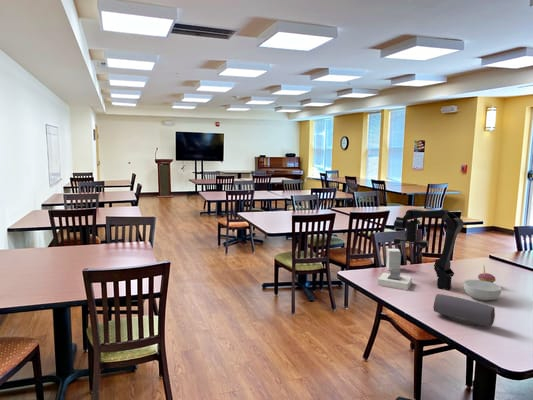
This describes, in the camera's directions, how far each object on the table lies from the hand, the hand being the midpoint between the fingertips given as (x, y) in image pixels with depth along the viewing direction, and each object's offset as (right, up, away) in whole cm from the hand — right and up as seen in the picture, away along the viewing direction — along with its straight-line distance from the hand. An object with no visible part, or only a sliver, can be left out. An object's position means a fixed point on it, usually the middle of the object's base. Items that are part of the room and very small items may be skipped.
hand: (410, 256), depth 229 cm
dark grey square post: (-12, -14, -10) cm, 21 cm away
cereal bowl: (+26, -17, -30) cm, 43 cm away
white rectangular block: (-4, -11, +19) cm, 23 cm away
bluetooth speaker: (+1, -20, -59) cm, 62 cm away
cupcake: (+39, -15, -11) cm, 43 cm away
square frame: (-12, -14, -10) cm, 21 cm away
